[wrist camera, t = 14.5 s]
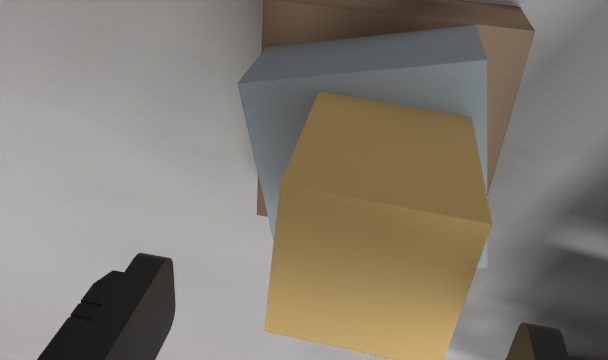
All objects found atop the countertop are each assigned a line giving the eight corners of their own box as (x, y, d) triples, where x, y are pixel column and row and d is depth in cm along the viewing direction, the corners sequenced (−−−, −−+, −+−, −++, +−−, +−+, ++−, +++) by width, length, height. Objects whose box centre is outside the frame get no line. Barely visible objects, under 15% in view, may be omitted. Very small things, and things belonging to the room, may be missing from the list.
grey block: (298, 215, 26) (280, 270, 23) (265, 47, 22) (237, 83, 19) (478, 209, 24) (487, 268, 21) (476, 24, 20) (486, 59, 17)
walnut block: (275, 173, 30) (256, 214, 26) (285, -22, 25) (263, -1, 21) (465, 202, 29) (471, 249, 25) (518, 4, 23) (534, 31, 20)
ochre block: (302, 214, 21) (264, 331, 16) (318, 90, 18) (280, 183, 13) (435, 240, 20) (440, 369, 15) (471, 118, 18) (492, 224, 13)
